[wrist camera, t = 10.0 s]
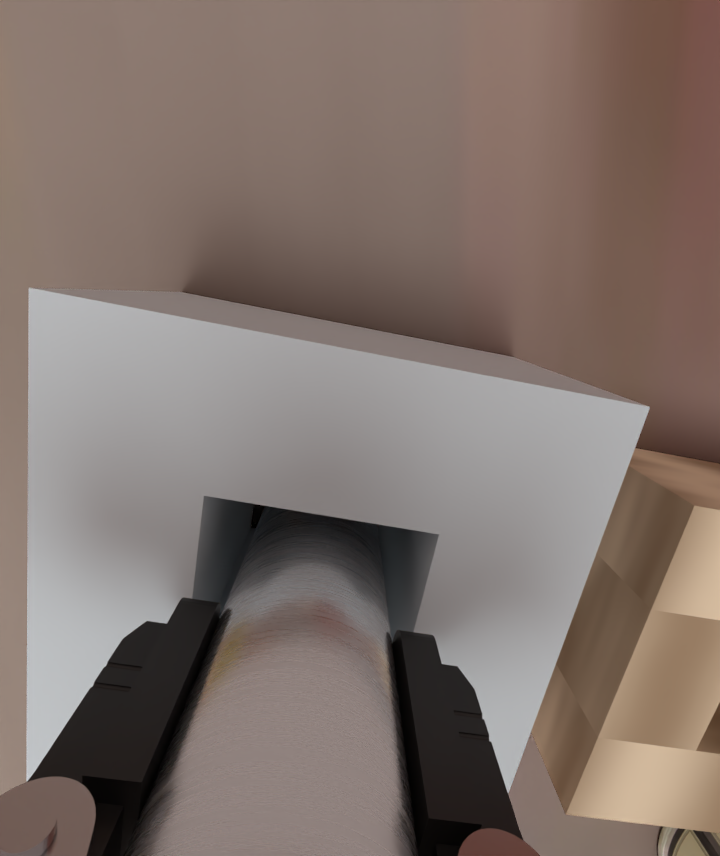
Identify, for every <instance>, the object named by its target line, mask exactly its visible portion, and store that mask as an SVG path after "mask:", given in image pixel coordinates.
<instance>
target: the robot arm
mask: <svg viewBox="0 0 720 856" xmlns="http://www.w3.org/2000/svg"><path fill="white" fill-rule="evenodd" d="M220 610H221V604H220V603H218V602H212V601H205V600H198V599H191V598H185V597H183V598H181V600H180V601H179V603H178V605H177V606H176V608H175V610H174V612H173V614H172V615H171V617H170V619H169V621H168V623H167V624H165V623H158V622H152V621H146V622H145V623H143V624H142V625H141V626H139V627H138V628H136V629H135V630H134V631H132V632H131V633H130V634H128V635H127V636H126V637H124V638H123V639H122V641H121V642H120V644H119V645H118V647H117V648H116V650H115V651H114V653H113V654H112V656H111V657H110V659H109V660H108V662H107V665H106V667H104V668H103V669H102V671H101V672H100V674H99V675H98V677H97V678H96V680H95V681H94V685H93V687H90V689H89V690H88V692H87V693H86V695H85V697H84V698H83V700H82V701H81V703H80V704H79V706H78V707H77V709H76V710H75V712H74V713H73V715H72V716H71V718H70V719H69V721H68V722H67V724H66V725H65V727H64V728H63V730H62V731H61V733H60V734H59V736H58V737H57V739H56V740H55V742H54V743H53V745H52V746H51V748H50V749H49V751H48V752H47V754H46V755H45V757H44V758H43V760H42V761H41V763H40V764H39V766H38V767H37V769H36V770H35V772H34V773H33V774H32V776H31V777H30V778H29V780H28V781H27V782H26V783H23V784H21V785H19V786H16V787H14V788H13V789H11V790H9V791H7V792H5V793H4V794H2V795H1V796H0V856H124V853H125V851H126V848H127V846H128V843H129V841H130V838H131V836H132V834H133V831H134V829H135V826H136V824H137V821H138V819H139V816H140V814H141V811H142V809H143V806H144V804H145V801H146V799H147V796H148V794H149V792H150V789H151V787H152V784H153V782H154V779H155V777H156V774H157V772H158V769H159V767H160V764H161V762H162V759H163V757H164V754H165V752H166V750H167V747H168V745H169V742H170V740H171V737H172V735H173V732H174V730H175V727H176V725H177V722H178V720H179V717H180V715H181V712H182V710H183V708H184V705H185V703H186V700H187V698H188V695H189V693H190V690H191V688H192V685H193V683H194V680H195V678H196V675H197V673H198V670H199V668H200V666H201V663H202V661H203V658H204V656H205V653H206V651H207V648H208V646H209V643H210V641H211V638H212V636H213V633H214V631H215V628H216V626H217V624H218V621H219V618H220ZM392 647H393V655H394V663H395V671H396V679H397V688H398V696H399V704H400V712H401V720H402V728H403V736H404V744H405V752H406V760H407V769H408V777H409V785H410V793H411V801H412V809H413V817H414V825H415V833H416V841H417V849H418V856H540V855H539V854H538V853H537V852H536V851H535V850H534V849H533V848H532V847H531V846H529V845H528V844H527V843H526V842H524V840H523V838H522V835H521V833H520V830H519V827H518V824H517V821H516V818H515V814H514V811H513V808H512V805H511V802H510V799H509V796H508V793H507V789H506V786H505V783H504V780H503V777H502V774H501V771H500V767H499V764H498V761H497V758H496V755H495V752H494V749H493V746H492V742H491V741H489V733H488V730H487V727H486V724H485V720H484V719H482V711H481V708H480V705H479V702H478V699H477V695H476V692H475V689H474V688H473V686H472V685H471V684H470V682H469V681H468V680H467V678H466V677H465V676H464V674H463V673H462V672H461V670H460V669H459V668H458V666H452V665H445V664H442V663H441V659H440V655H439V651H438V647H437V643H436V640H435V637H434V636H433V635H430V634H423V633H416V632H410V631H403V630H397V631H396V633H395V635H394V638H393V642H392Z"/></svg>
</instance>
